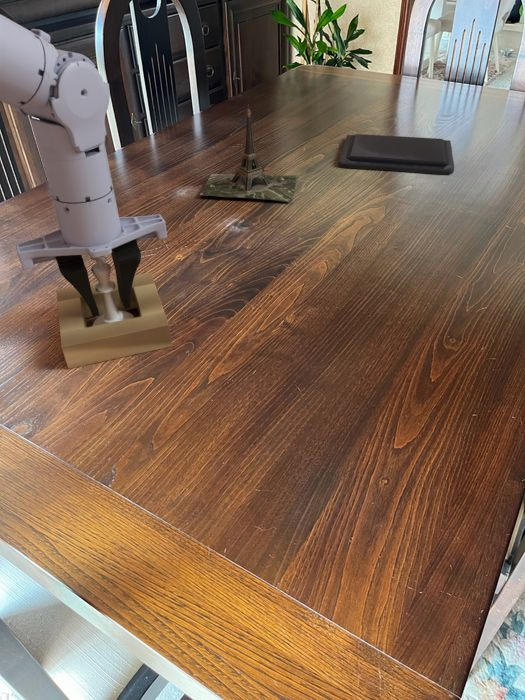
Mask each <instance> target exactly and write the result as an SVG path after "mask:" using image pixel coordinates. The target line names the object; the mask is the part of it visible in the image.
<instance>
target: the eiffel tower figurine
mask: <svg viewBox="0 0 525 700" xmlns="http://www.w3.org/2000/svg"><path fill="white" fill-rule="evenodd" d="M249 107H250V106H249V105H247V109H246V111H245V115H246V127H245V129H246V130H245V131H246V132H245V133H246V134H245V146H244V152H243V158H242V161H241V163H240V165H239V166H238V167H237V168H238V170H237V171H236V173H211V174H210V175H209V178H208V179H207V181H206V183H205V185H204V186H203V188H202V190H201V192H200V193H199V196H202V197H203V196H205V197H208V196H209V197H218V198H219V197H220V198H237V199H238V198H241V199H256V200H268V201H278V202H287V203H291V202H292V201H293V196H294V192H295V186H296V181H297V177H298V175H297V174H295V175H294V174H293V175H290V174H289V175H271V174H265V173H264V171H263V167H262V166H261V165H260V164H259V161H258V158H257V153H256V151H255V146H254V139H253V129H252V120H251V119H252V118H251V115H252V111H251V110H250V108H249Z"/></svg>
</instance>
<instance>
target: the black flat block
mask: <svg viewBox="0 0 525 700" xmlns="http://www.w3.org/2000/svg"><path fill="white" fill-rule="evenodd" d="M451 142H452V141H451V140H449V139H446V140H445V139H443V138H436V137H435V138H434V137H418V136H417V137H415V136H402V135H401V136H400V135H381V134H364V133H363V134H362V133H356V134H347V135H346V137H345V139H344V141H343V144H342V147H341V150H340V153H339V156H338V160H337V166H338V167H339V168H342V169H343V168H344V169H353V170H370V171H371V170H372V171H387V172H404V173H415V174H416V173H417V174H428V175H429V174H432V175H448V176H449V175H451V174H453V173H454V172H455V162H454V157H453V149H452V148H453V147H452V143H451Z"/></svg>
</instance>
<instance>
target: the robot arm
mask: <svg viewBox="0 0 525 700" xmlns="http://www.w3.org/2000/svg"><path fill="white" fill-rule="evenodd" d="M110 97H111V91H110V84H109V82H105V81H104V80H103V77H102V75H101V73H100V71H99V70H98V69H97V67H96V64H94V62H93V61H92V60H91V59H90V58H88V56H86V55H84V54H82V53H78V52H73V51H67V50H64V49H63V50H62V49H59V48H58V49H57V48H56V47H55V46H54V44H52V43H51V35H50V34H49V33H47V32H45V31H44V30H41V29H38V28H31V29H30V30H29V29H27V28H26V27H24V26H22V25H20V24H18V23H17V22H15V21H14V20H11V19H10V18H8V17H7V16H4V15H3V14H1V13H0V102H2V103H3V104H6V105H8V106H11V107H13V108H14V109H15V110H16V112H18V113H19V114H20V115H22V116H25V117H26V116H30V123H31V127H32V130H33V133H34V134H33V135H34V138H35V141H36V145H37V148H38V152H39V155H40V159H41V162H42V166H43V170H44V173H45V174H44V175H45V178H46V181H47V184H48V186H49V187H48V188H49V191H50V195H51V199H52V202H53V203H52V204H53V206H54V210H55V213H56V217H57V221H58V224H59V229H56V230H54V231H51V232H49V233H46V234H44V235H40V236H38V237H36V238H33V239H30V240H26V241H22V242H19V243H15V249H16V252H17V255H18V258H19V261H20V265H21V267H22V270H23V271H26V270H31V269H34V268H35V267H36V265H38V264H43V263H47V262H51V261H56V264H57V267H58V270H59V272H60V275H62V277H63V278H64V279H65V280H66V281H67V282H68V283H69V284H70V285H71V287H74V288H75V289H76V290H77V291H78V292H79V293H80V295H81V296H82V297H83V299H84V300H85V302H86V303H87V305H88V306H89V308H90V310H91V313H92V316H93V317H92V318H95V317H99V316H100V315H99V311H98V308H97V305H96V302H95V300H94V297H93V294H92V290H91V286H90V284H91V282H90V277H89V273H88V272H89V271H88V269H87V267H86V265H85V262H84V258H83V256H84V255H85V256H86V255H88V256H89V257H90V258H91V257H92V258H97V257H102V256H105V257H106V256H110V255H111V258H112V262H113V268H114V271H115V279H117V285H118V291H119V295H120V299H121V302H122V304H123V306H124V308H125V309H126V308H130V307H131V290H132V284H133V280H134V276H135V275H136V272H137V270H138V268H139V266H140V263H141V261H142V253H141V249H140V247H139V245H138V242H141V241H145V240H150V239H154V238H155V239H157V241H159V240H160V241H161V240H165V239H168V232H167V225H166V224H167V223H166V220H165V219H164V218H163V216H162V215H161V214H160V213H157V214H151V215H142V216H141V215H140V216H139V215H138V216H120V215H119V209H118V205H117V199H116V194H115V188H114V184H113V183H114V182H113V179H112V174H111V173H112V172H111V168H110V164H109V159H108V154H107V149H106V143H105V142H106V136H107V135H108V134H107V127H106V124H105V123H106V115H107V111H108V110H109V105H110Z"/></svg>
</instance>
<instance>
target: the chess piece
mask: <svg viewBox="0 0 525 700" xmlns="http://www.w3.org/2000/svg"><path fill="white" fill-rule="evenodd" d="M90 260H92V261H95V264H93V265H92V266H91V268H90V270H91V273H92V274H93V276H94V277H95V278H96V279H95V280H97V282H99V283H97V284H96V287H95V290H96V291H97V292H99V293H102V296H103V306H104V314H102V315H99V316H97V317H96V318H95V320H94V321H93V323H92V326H97V325H102V324H107V323H112V322H117V321H122V320H127V319H131V318H135V316H134V315H133V314H132V313H130V312H129V311H126V310H124V311H119V310H118V308H117V306H116V303H115V300H114V298H113V295H112V292H111V291H113V290H114V289H115V287H116V285H115V283H114V282H113V281H110V280H111V279H110V278H111V270H112V266H111V264H110V263H107V261H108V260H107V257H106V256H102V257H97V258H92V257H90Z"/></svg>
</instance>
